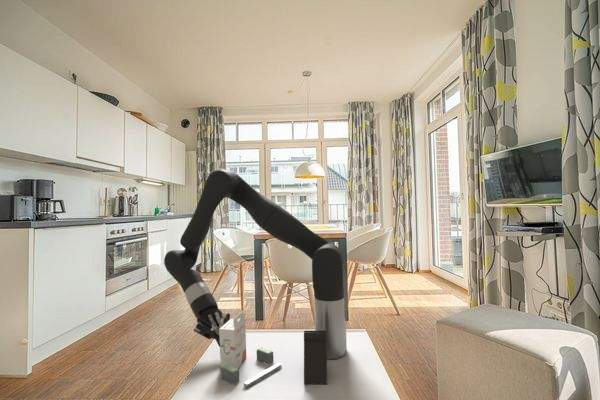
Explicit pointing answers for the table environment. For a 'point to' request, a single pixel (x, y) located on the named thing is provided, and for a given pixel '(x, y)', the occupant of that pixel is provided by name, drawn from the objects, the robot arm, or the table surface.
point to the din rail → (262, 375)
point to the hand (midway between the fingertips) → (225, 346)
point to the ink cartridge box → (233, 341)
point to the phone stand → (315, 357)
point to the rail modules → (232, 373)
